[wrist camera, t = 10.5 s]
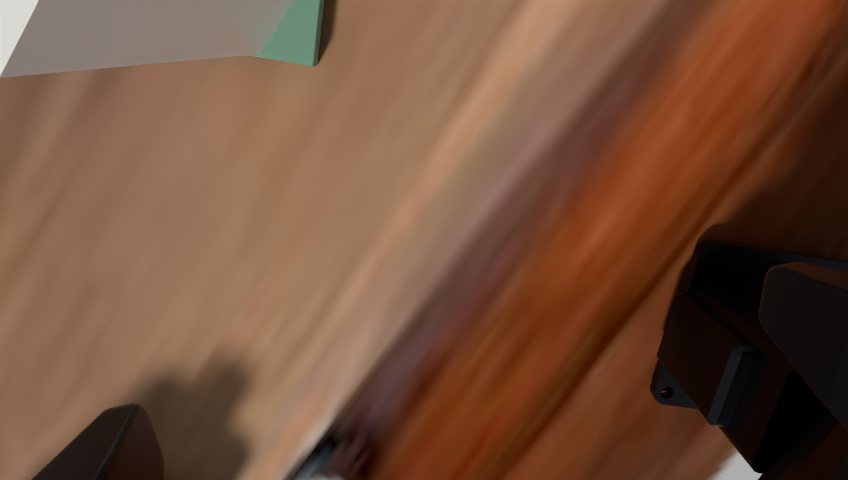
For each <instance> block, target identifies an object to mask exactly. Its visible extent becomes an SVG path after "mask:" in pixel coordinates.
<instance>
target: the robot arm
mask: <svg viewBox="0 0 848 480" xmlns="http://www.w3.org/2000/svg"><path fill="white" fill-rule="evenodd" d="M711 250H716V251H715V255H714V257H712V258H711V259H706V258H707V254H708V253H709V252H710V251H711ZM657 357H658V359H659V361H658V364H657V367H656V370H655V373H654V376H653V379H652V382H651V386H650V391H651V394H652V395H653V397H654V398H655V400H656V401H658V402H659V403H661V404H665V405H672V406H679V407H687V408H694V409H698V410H699V411H700V413H701V414H702V415H703V416H704V418H705V419H706V420H707V421H708V423H709V424H711V425H712V426H718V427H719V428H720V429H721V430H722V432H723V433H724V434H725V435H726V437H727V438H728V439H729V440H730V442H731V443H732V444H733V445H734V447H735V448H736V449H737V450H738V452H739V453H740V454H741V455H742V457H743V458H744V459H745V460H746V461H747V463H748V464H749V465H750V466H751V468H752V469H753V470H754V471H755V472H758V473H762V475H761V477H760V478H759V479H758V480H848V261H847V260H840V259H834V258H828V257H821V256H815V255H809V254H802V253H796V252H790V251H783V250H777V249H771V248H764V247H758V246H752V245H745V244H739V243H733V242H726V241H720V240H714V239H709V240H705V241H703V242H701V243H700V244H699V245H698V246H697V247H696V249H695V251H694V254H693V258H692V261H691V264H690V267H689V270H688V273H687V276H686V279H685V282H684V285H683V288H682V291H681V293H680V294H679V295H678V296H677V297H676V298H675V301H674V304H673V307H672V310H671V313H670V316H669V319H668V322H667V325H666V328H665V331H664V335H663V338H662V341H661V344H660V347H659V350H658V353H657ZM666 387H670V388H669V390H668V391H667V392H665V393H661V391H662V389H664V388H666ZM32 480H164V460H163V454H162V450H161V447H160V444H159V442H158V439H157V436H156V434H155V431H154V428H153V426H152V423H151V421H150V418H149V415H148V413H147V410H146V409H145V407H144V406H143V405H142V404H140V403H132V404H127V405H123V406H118V407H113V408H109V409H107V410H105V411H104V412H102V413H101V414H100V415H99V416H98V417H97V418H96V419H95V420H94V421H93V422H92V423H91V424H90V425H89V426H88V427H86V428H85V429H84V430H83V431H82V432H81V433H80V434H79V435H78V436H77V437H76V438H75V439H74V440H73V441H72V442H71V443H70V444H69V445H67V446H66V447H65V448H64V449H63V450H62V451H61V452H60V453H59V454H58V455H57V456H56V457H55V458H54V459H53V460H52V461H51V462H50V463H49V464H47V465H46V466H45V467H44V468H43V469H42V470H41V471H40V472H39V473H38V474H37V475H36V476H35V477H34V478H33V479H32Z"/></svg>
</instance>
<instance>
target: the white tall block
mask: <svg viewBox="0 0 848 480" xmlns="http://www.w3.org/2000/svg"><path fill="white" fill-rule="evenodd" d="M294 1H295V0H0V78H2V77H13V76H24V75H35V74H46V73H57V72H68V71H79V70H90V69H101V68H112V67H123V66H134V65H145V64H156V63H167V62H179V61H190V60H201V59H212V58H223V57H234V56H245V55H256V54H261V53H262V51H263V50H264V48H265V47H266V45H267V43H268V42H269V40H270V39H271V37H272V35H273V34H274V32H275V31H276V29H277V28H278V26H279V24H280V23H281V21H282V20H283V18H284V16H285V15H286V13H287V12H288V10H289V8H290V7H291V5H292V4H293V2H294Z"/></svg>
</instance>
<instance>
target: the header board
mask: <svg viewBox="0 0 848 480" xmlns="http://www.w3.org/2000/svg"><path fill="white" fill-rule="evenodd" d="M323 9H324V0H295V1H294V2H293V4H292V5H291V7H290V8H289V10H288V12H287V13H286V15H285V16H284V18H283V20H282V21H281V23H280V24H279V26H278V28H277V29H276V31H275V32H274V34H273V35H272V37H271V39H270V40H269V42H268V43H267V45H266V47H265V48H264V50H263V51H262V53H261V54H256V55H250V56H256V57H261V58H267V59H273V60H279V61H285V62H290V63H296V64H302V65H308V66H316V65H317V64H318V55H319V46H320V37H321V27H322V18H323Z"/></svg>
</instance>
